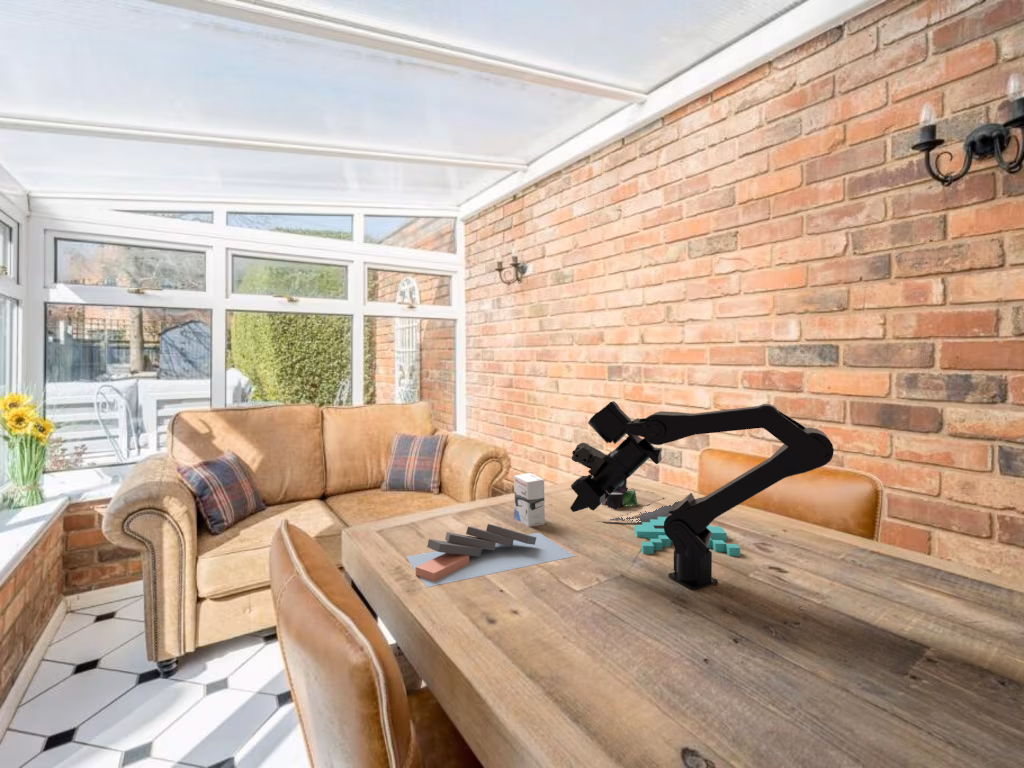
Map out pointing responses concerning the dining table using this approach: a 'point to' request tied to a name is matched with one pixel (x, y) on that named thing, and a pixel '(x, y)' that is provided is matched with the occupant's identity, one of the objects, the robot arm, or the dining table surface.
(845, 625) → the dining table surface
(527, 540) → the domino
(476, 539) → the domino
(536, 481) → the ink box
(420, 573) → the domino
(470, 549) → the domino
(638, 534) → the alien figure
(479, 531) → the domino
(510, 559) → the mat
